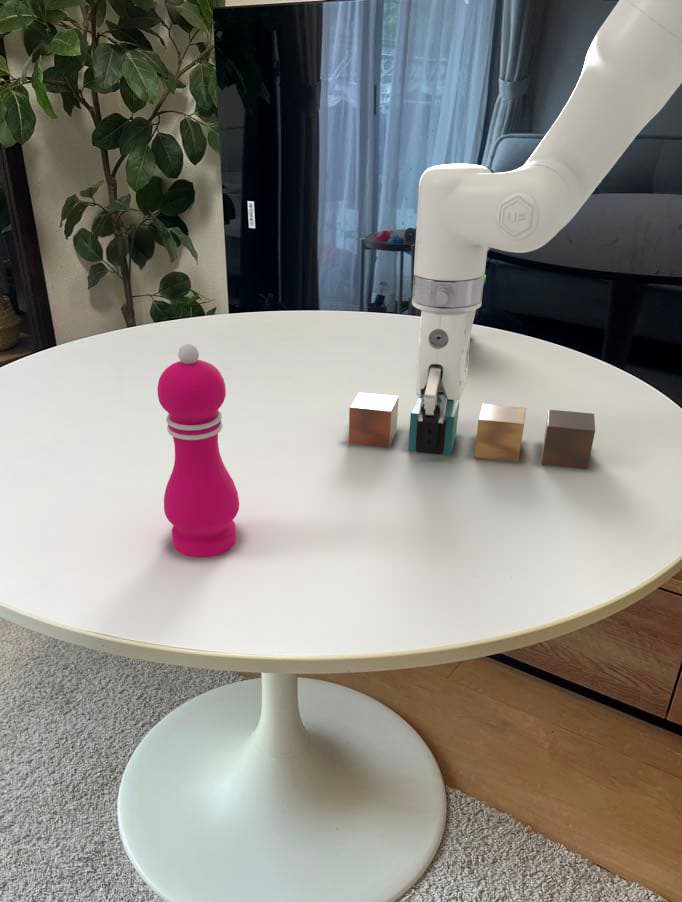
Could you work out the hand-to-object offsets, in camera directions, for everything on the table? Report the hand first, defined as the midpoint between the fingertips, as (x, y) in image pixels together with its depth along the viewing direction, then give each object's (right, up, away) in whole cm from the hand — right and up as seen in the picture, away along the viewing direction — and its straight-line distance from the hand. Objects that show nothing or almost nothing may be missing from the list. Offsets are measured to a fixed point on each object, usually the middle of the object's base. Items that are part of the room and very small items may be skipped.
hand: (435, 435), depth 95 cm
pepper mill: (-26, -13, -17) cm, 34 cm away
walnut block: (+14, -3, -3) cm, 15 cm away
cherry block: (-7, 0, +3) cm, 8 cm away
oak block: (+7, -2, -1) cm, 8 cm away
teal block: (0, -1, +1) cm, 1 cm away
